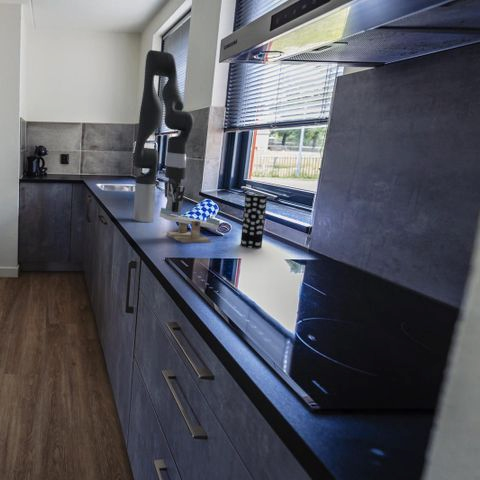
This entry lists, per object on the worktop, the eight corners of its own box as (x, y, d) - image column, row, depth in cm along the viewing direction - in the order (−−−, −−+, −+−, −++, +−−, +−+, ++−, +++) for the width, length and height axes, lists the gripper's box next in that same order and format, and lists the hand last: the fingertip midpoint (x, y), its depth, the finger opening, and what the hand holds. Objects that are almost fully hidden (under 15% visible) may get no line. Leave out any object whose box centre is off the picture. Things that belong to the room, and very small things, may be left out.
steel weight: (164, 211, 165) (168, 196, 165) (175, 213, 168) (178, 198, 167) (169, 213, 162) (172, 197, 161) (179, 215, 164) (183, 199, 164)
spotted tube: (262, 244, 173) (267, 195, 169) (260, 249, 164) (266, 196, 161) (241, 242, 173) (246, 192, 169) (239, 246, 165) (244, 194, 161)
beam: (159, 216, 167) (161, 207, 166) (207, 225, 179) (209, 217, 179) (168, 220, 159) (170, 211, 159) (218, 229, 172) (220, 220, 171)
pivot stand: (167, 235, 173) (168, 215, 171) (194, 234, 179) (195, 215, 178) (181, 242, 161) (183, 221, 160) (209, 242, 168) (211, 221, 166)
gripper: (159, 163, 165) (156, 207, 168) (174, 166, 153) (170, 214, 157) (177, 164, 169) (173, 208, 172) (193, 168, 157) (189, 214, 161)
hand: (172, 210), depth 165 cm, fingers closed on steel weight, 4 cm apart
